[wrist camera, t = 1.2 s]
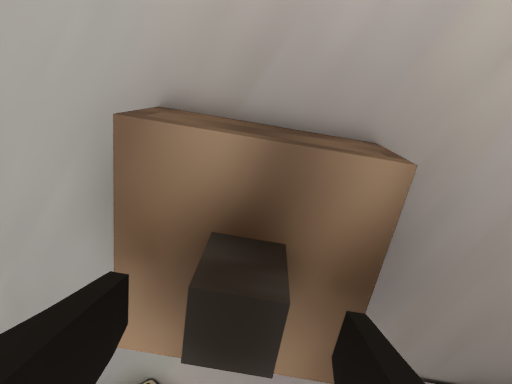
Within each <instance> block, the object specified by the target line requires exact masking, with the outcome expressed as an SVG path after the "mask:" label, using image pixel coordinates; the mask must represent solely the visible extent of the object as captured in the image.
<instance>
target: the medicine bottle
mask: <svg viewBox="0 0 512 384" xmlns="http://www.w3.org/2000/svg"><path fill="white" fill-rule="evenodd" d="M143 384H156V383H155V382H154V381H153V380H149V381H147V382H145V383H143Z"/></svg>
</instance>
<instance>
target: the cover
mask: <svg viewBox="0 0 512 384" xmlns="http://www.w3.org/2000/svg"><path fill="white" fill-rule="evenodd" d="M113 151H114V272H118V273H124V274H129V305H128V325H127V327H126V329H125V332H124V334H123V336H122V338H121V340H120V342H119V344H118V346H117V347H118V348H124V349H130V350H136V351H142V352H148V353H153V354H159V355H165V356H171V357H177V358H181V363H184V364H189V365H195V366H201V367H207V368H213V369H219V370H225V371H231V372H237V373H243V374H249V375H255V376H261V377H267V378H272V377H273V374H278V375H284V376H290V377H296V378H302V379H308V380H314V381H320V382H325V383H331V384H334V377H333V368H332V358H331V357H332V354H333V351H334V348H335V345H336V342H337V339H338V336H339V333H340V329H341V326H342V323H343V320H344V317H345V314H346V311H352V312H358V313H364V314H365V312H366V310H367V307H368V304H369V301H370V298H371V296H372V293H373V290H374V287H375V284H376V281H377V279H378V276H379V273H380V270H381V267H382V264H383V262H384V259H385V256H386V253H387V250H388V248H389V245H390V242H391V239H392V236H393V233H394V231H395V228H396V225H397V222H398V219H399V217H400V214H401V211H402V208H403V205H404V202H405V200H406V197H407V194H408V191H409V188H410V185H411V183H412V180H413V177H414V174H415V171H416V169H417V166H418V165H416V164H414V163H412V162H410V161H408V160H407V159H405V158H403V157H401V156H399V155H397V154H395V153H393V152H391V151H390V150H388V149H386V148H384V147H382V146H380V145H378V144H375V143H370V142H364V141H358V140H352V139H346V138H340V137H334V136H328V135H322V134H317V133H311V132H305V131H299V130H293V129H287V128H281V127H275V126H269V125H263V124H258V123H252V122H246V121H240V120H234V119H228V118H222V117H216V116H210V115H204V114H199V113H193V112H187V111H181V110H175V109H169V108H163V107H153V108H147V109H141V110H134V111H128V112H122V113H115V114H113Z"/></svg>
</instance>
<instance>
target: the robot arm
mask: <svg viewBox="0 0 512 384" xmlns="http://www.w3.org/2000/svg"><path fill="white" fill-rule="evenodd" d="M128 305H129V274H124V273H118V272H112V271H110V272H109V273H107V274H105V275H103V276H102V277H100V278H98V279H96V280H95V281H93V282H91V283H90V284H88V285H87V286H85V287H83V288H82V289H80V290H78V291H77V292H75V293H73V294H72V295H70V296H68V297H66V298H65V299H63V300H61V301H60V302H58V303H56V304H55V305H53V306H51V307H49V308H48V309H46V310H44V311H42V312H41V313H39V314H37V315H35V316H33V317H31V318H29V319H28V320H26V321H24V322H22V323H20V324H18V325H16V326H15V327H13V328H11V329H9V330H7V331H5V332H4V333H2V334H0V384H96V382H97V380H98V379H99V377H100V376H101V374H102V372H103V371H104V369H105V367H106V366H107V364H108V363H109V361H110V359H111V358H112V356H113V354H114V352H115V350H116V348H117V346H118V344H119V342H120V340H121V338H122V336H123V334H124V332H125V329H126V327H127V325H128ZM331 358H332V368H333V377H334V384H434V383H428V382H424V381H423V380H422V379H421V378H420V377H419V376H418V375H417V374H416V373H415V371H414V370H413V369H412V368H411V367H410V366H409V365H408V363H407V362H406V361H405V360H404V359H403V358H402V356H401V355H400V354H399V353H398V352H397V351H396V349H395V348H394V347H393V346H392V345H391V343H390V342H389V341H388V340H387V339H386V338H385V336H384V335H383V334H382V333H381V332H380V330H379V329H378V328H377V327H376V326H375V324H374V323H373V322H372V321H371V320H370V319H369V317H368V316H367V315H366V314H364V313H358V312H352V311H346V314H345V317H344V320H343V323H342V326H341V329H340V333H339V336H338V339H337V342H336V345H335V348H334V351H333V354H332V357H331Z"/></svg>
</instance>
